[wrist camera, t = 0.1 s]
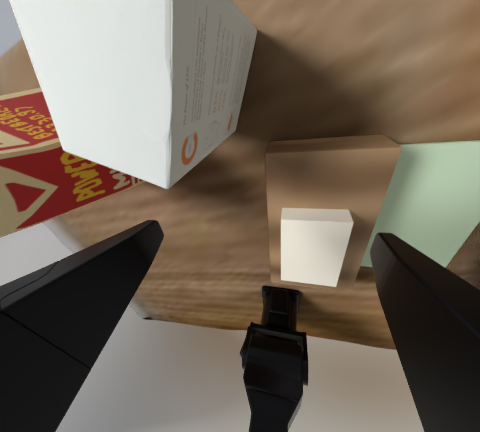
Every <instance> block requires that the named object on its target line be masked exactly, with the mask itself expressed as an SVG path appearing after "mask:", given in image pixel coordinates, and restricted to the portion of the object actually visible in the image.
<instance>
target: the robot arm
mask: <svg viewBox="0 0 480 432" xmlns="http://www.w3.org/2000/svg"><path fill="white" fill-rule="evenodd" d="M163 238H164V234H163V231H162V229H161V227H160V225H159V223H158V221H156V220H147V221H145V222H143V223H140V224H138V225H136V226H134V227H132V228H129V229H127V230H125V231H123V232H121V233H118V234H116V235H114V236H112V237H110V238H107V239H105V240H103V241H101V242H99V243H96V244H94V245H92V246H90V247H88V248H86V249H83V250H81V251H79V252H77V253H75V254H72V255H70V256H68V257H66V258H64V259H61V260H60V261H57V262H55V263H53V264H50V265H48V266H46V267H44V268H42V269H39V270H37V271H35V272H32V273H31V274H28V275H26V276H23V277H21V278H19V279H16V280H14V281H11V282H9V283H7V284H4V285H2V286H0V432H55V431H56V430H57V428H58V426H59V424H60V423H61V421H62V419H63V417H64V416H65V414H66V412H67V411H68V409H69V407H70V405H71V403H72V402H73V400H74V398H75V397H76V395H77V393H78V391H79V390H80V388H81V386H82V384H83V383H84V381H85V379H86V378H87V376H88V374H89V372H90V371H91V368H92V367H93V365H94V363H95V362H96V360H97V358H98V356H99V355H100V353H101V351H102V350H103V348H104V346H105V344H106V343H107V341H108V339H109V337H110V336H111V334H112V332H113V330H114V329H115V327H116V325H117V323H118V322H119V320H120V318H121V317H122V315H123V313H124V311H125V310H126V308H127V306H128V304H129V303H130V301H131V299H132V298H133V296H134V294H135V292H136V291H137V289H138V287H139V285H140V284H141V282H142V280H143V279H144V277H145V275H146V273H147V272H148V270H149V268H150V266H151V264H152V262H153V260H154V258H155V256H156V253H157V251H158V249H159V247H160V245H161V242H162V240H163ZM370 258H371V263H372V268H373V272H374V277H375V282H376V287H377V292H378V296H379V299H380V302H381V305H382V308H383V311H384V314H385V317H386V320H387V323H388V326H389V329H390V332H391V335H392V338H393V340H394V343H395V346H396V349H397V352H398V355H399V358H400V361H401V364H402V367H403V370H404V372H405V376H406V379H407V382H408V385H409V388H410V390H411V393H412V396H413V399H414V402H415V405H416V408H417V411H418V414H419V417H420V420H421V423H422V426H423V429H424V432H480V290H479V289H477V288H476V287H474V286H472V285H471V284H469V283H468V282H466V281H465V280H463V279H462V278H460V277H459V276H457V275H456V274H454V273H453V272H451V271H449V270H448V269H446V268H445V267H443V266H442V265H440V264H439V263H437V262H436V261H434V260H433V259H431V258H430V257H428V256H426V255H425V254H423V253H422V252H420V251H419V250H417V249H416V248H414V247H413V246H411V245H410V244H408V243H407V242H405V241H404V240H402V239H400V238H399V237H397V236H396V235H394V234H393V233H385V232H379V233H377V234H376V235H375V238H374V240H373V243H372V246H371V249H370ZM262 297H263V313H262V320H261V324H255V323H253V322H251V324H250V326H249V327H248V330H247V335H246V338H245V341H244V343H243V346H242V348H241V351H240V355H241V357H242V368H243V369H245V370H244V376H243V379H244V383H245V388H246V392H247V396H248V400H249V405H250V409H251V420H250V427H249V432H288V430H289V428H290V426H291V424H292V422H293V420H294V418H295V416H296V414H297V412H298V410H299V409H300V406H301V401H302V395H303V385H306V386H307V385H308V354H307V339H306V332H297V331H296V313H298V308H299V297H300V292H299V291H296V290H289V289H282V288H274V287H267V286H263V287H262Z"/></svg>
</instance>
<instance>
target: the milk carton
mask: <svg viewBox="0 0 480 432" xmlns="http://www.w3.org/2000/svg"><path fill="white" fill-rule="evenodd" d="M144 182H146V181H144V180H142V179H139V178H136V177H134V176H131V175H129V174H126V173H123V172H120V171H117V170H115V169H112V168H109V167H107V166H104V165H101V164H98V163H96V162H93V161H90V160H87V159H85V158H82V157H79V156H76V155H74V154H71V153H68V152H66V151H64V150H63V148H62V145H61V142H60V140H59V137H58V134H57V131H56V128H55V126H54V123H53V120H52V117H51V115H50V112H49V109H48V106H47V104H46V101H45V98H44V95H43V92H42V90H41V88H37V89H32V90H27V91H22V92H17V93H11V94H6V95H1V96H0V237H3V236H6V235H8V234H11V233H13V232H17V231H20V230H22V229H25V228H28V227H31V226H33V225H36V224H39V223H42V222H45V221H47V220H50V219H53V218H56V217H59V216H61V215H64V214H67V213H69V212H72V211H75V210H77V209H80V208H82V207H85V206H87V205H90V204H92V203H95V202H97V201H100V200H102V199H105V198H108V197H110V196H113V195H115V194H118V193H120V192H123V191H125V190H128V189H130V188H133V187H135V186H137V185H139V184H141V183H144Z"/></svg>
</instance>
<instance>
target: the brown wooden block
mask: <svg viewBox="0 0 480 432" xmlns="http://www.w3.org/2000/svg"><path fill="white" fill-rule="evenodd" d="M401 150H402V147H401V146H400V145H398V144H397V143H395V142H394V141H392V140H391V139H389V138H388V137H387V136H385V135H384V134H376V135H361V136H346V137H331V138H316V139H301V140H285V141H270V143H269V145H268V147H267V150H266V152H265V170H266V190H267V210H268V230H269V250H270V271H271V282H273V283H281V284H288V285H296V286H303V287H311V288H319V289H326V290H334V291H341V292H349V293H351V291H352V288H353V285H354V282H355V279H356V277H357V274H358V271H359V268H360V265H361V262H362V260H363V257H364V254H365V251H366V248H367V246H368V243H369V240H370V237H371V234H372V231H373V229H374V226H375V223H376V220H377V217H378V215H379V212H380V209H381V206H382V203H383V200H384V198H385V195H386V192H387V189H388V186H389V184H390V181H391V178H392V175H393V172H394V169H395V167H396V164H397V161H398V158H399V155H400V152H401ZM282 208H309V209H347V210H349V212H350V215H351V217H352V220H353V222H354V223H353V227H352V230H351V234H350V238H349V241H348V245H347V249H346V252H345V256H344V260H343V263H342V267H341V271H340V274H339V278H338V282H337V285H336V287H332V286H324V285H316V284H308V283H300V282H292V281H284V280H281V214H282Z"/></svg>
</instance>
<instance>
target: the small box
mask: <svg viewBox="0 0 480 432" xmlns="http://www.w3.org/2000/svg"><path fill="white" fill-rule="evenodd" d="M9 1H10V4H11V7H12V9H13V12H14V15H15V18H16V21H17V23H18V26H19V29H20V32H21V34H22V37H23V40H24V43H25V45H26V48H27V51H28V54H29V57H30V59H31V62H32V65H33V67H34V70H35V73H36V76H37V78H38V81H39V84H40V87H41V90H42V92H43V95H44V98H45V101H46V104H47V106H48V109H49V112H50V115H51V117H52V120H53V123H54V126H55V128H56V131H57V134H58V137H59V140H60V142H61V145H62V148H63V150H64V151H66V152H68V153H71V154H74V155H76V156H79V157H82V158H85V159H87V160H90V161H93V162H96V163H98V164H101V165H104V166H107V167H109V168H112V169H115V170H117V171H120V172H123V173H126V174H129V175H131V176H134V177H136V178H139V179H142V180H144V181H147V182H150V183H152V184H155V185H157V186H160V187H162V188H165V189H169V188H170V187H172V186H173V185H174V184H175V183H176V182H177V181H179V180H180V179H181V178H182V177H183V176H184V175H185V174H186V173H187V172H189V171H190V170H191V169H192V168H193V167H195V166H196V165H197V164H198V163H199V162H200V161H202V160H203V159H204V158H205V157H206V156H207V155H208V154H210V153H211V152H212V151H213V150H214V149H215V148H217V147H218V146H219V145H220V144H221V143H222V142H223V141H225V140H226V139H227V138H228V137H229V136H230V135H231V134H233V133H234V132H235V131H236V127H237V122H238V118H239V113H240V109H241V105H242V100H243V96H244V91H245V86H246V82H247V77H248V73H249V68H250V63H251V59H252V54H253V49H254V45H255V40H256V35H257V29H256V28H255V26H254V25H253V24H252V23H251V22H250V21H249V20H248V18H247V17H246V16H245V15H244V14H243V13H242V12H241V10H240V9H239V8H238V7H237V6H236V5H235V4H234V3H233V2H232V1H231V0H9Z"/></svg>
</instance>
